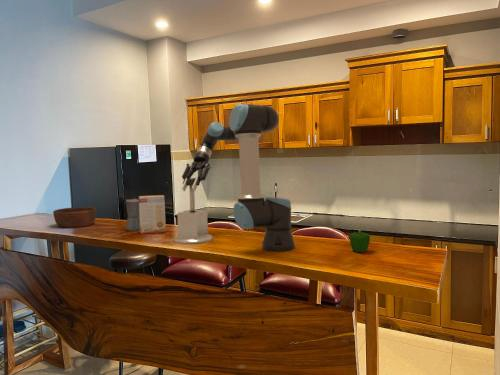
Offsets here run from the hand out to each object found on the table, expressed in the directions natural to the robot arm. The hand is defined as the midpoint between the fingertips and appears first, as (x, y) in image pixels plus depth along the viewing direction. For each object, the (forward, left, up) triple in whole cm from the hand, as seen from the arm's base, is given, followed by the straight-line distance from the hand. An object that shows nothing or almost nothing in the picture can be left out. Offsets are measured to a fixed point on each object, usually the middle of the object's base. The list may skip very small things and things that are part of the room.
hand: (188, 189), depth 183 cm
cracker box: (+34, +4, -26) cm, 43 cm away
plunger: (+2, -3, -16) cm, 17 cm away
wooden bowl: (+91, +30, -26) cm, 99 cm away
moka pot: (+50, +9, -26) cm, 57 cm away
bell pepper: (-69, -44, -26) cm, 86 cm away
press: (+2, -3, -26) cm, 26 cm away
